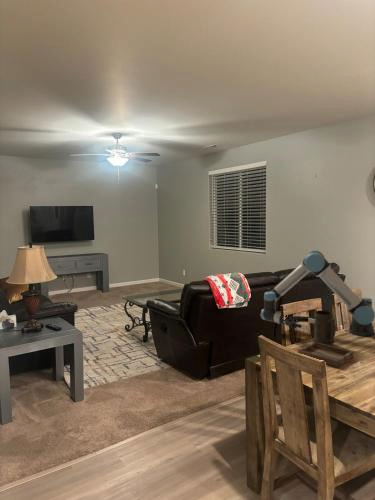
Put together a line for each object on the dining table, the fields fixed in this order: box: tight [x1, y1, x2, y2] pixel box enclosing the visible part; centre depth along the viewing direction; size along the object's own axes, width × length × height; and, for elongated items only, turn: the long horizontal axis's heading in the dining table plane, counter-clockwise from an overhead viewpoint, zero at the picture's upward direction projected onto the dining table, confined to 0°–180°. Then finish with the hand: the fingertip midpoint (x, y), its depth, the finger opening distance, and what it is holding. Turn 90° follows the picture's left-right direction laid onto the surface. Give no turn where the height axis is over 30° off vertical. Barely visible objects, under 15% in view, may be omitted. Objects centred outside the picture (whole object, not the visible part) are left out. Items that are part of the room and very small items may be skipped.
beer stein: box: [313, 310, 337, 347], centre depth 217 cm, size 15×11×20 cm
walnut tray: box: [297, 341, 354, 369], centre depth 201 cm, size 18×22×4 cm
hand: (312, 324), depth 223 cm, fingers open, 13 cm apart
